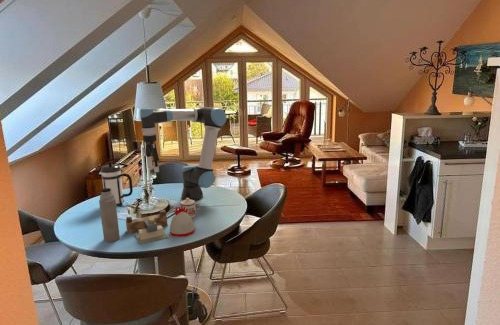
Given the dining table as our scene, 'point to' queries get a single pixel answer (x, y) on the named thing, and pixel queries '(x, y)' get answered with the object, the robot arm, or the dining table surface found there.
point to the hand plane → (138, 223)
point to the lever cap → (150, 225)
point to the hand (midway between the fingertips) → (153, 169)
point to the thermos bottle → (109, 216)
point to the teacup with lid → (190, 207)
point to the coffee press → (115, 181)
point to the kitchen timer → (181, 223)
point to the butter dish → (151, 235)
